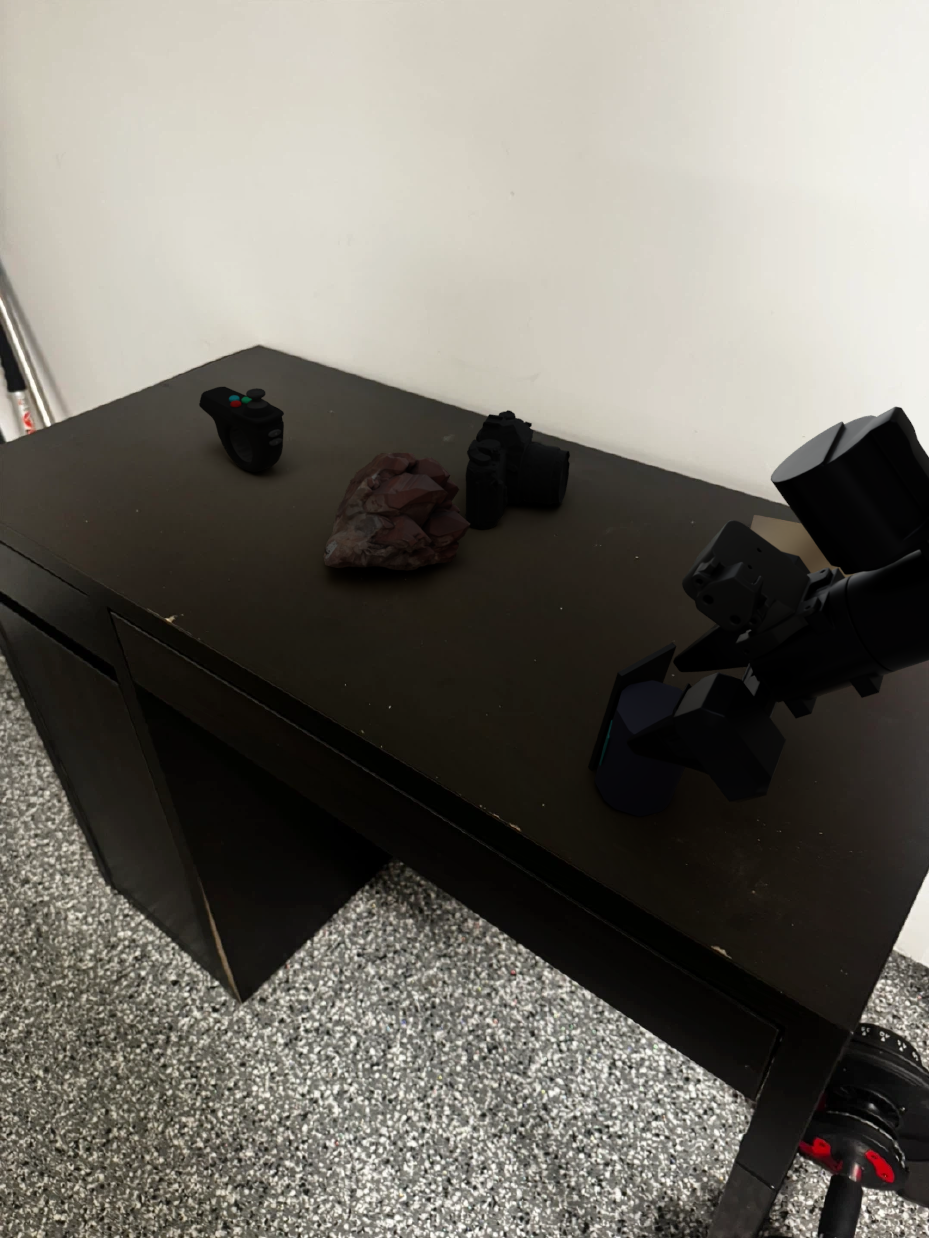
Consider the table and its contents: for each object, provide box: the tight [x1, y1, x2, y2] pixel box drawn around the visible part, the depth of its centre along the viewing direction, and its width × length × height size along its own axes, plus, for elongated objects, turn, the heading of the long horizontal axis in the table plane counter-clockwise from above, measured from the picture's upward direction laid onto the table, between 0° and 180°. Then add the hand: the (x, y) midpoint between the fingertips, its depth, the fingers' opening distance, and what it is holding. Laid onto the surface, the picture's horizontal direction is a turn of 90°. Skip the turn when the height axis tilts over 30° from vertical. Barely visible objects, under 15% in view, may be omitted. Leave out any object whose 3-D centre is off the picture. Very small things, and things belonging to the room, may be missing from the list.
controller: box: [198, 386, 285, 473], centre depth 101 cm, size 4×12×10 cm, turn 47°
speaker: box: [587, 642, 686, 818], centre depth 61 cm, size 8×6×10 cm
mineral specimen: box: [322, 452, 471, 572], centre depth 85 cm, size 12×13×15 cm
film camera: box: [464, 409, 571, 530], centre depth 95 cm, size 15×10×9 cm, turn 163°
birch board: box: [749, 514, 856, 578], centre depth 83 cm, size 12×22×2 cm, turn 158°
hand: (655, 703), depth 59 cm, fingers open, 9 cm apart
